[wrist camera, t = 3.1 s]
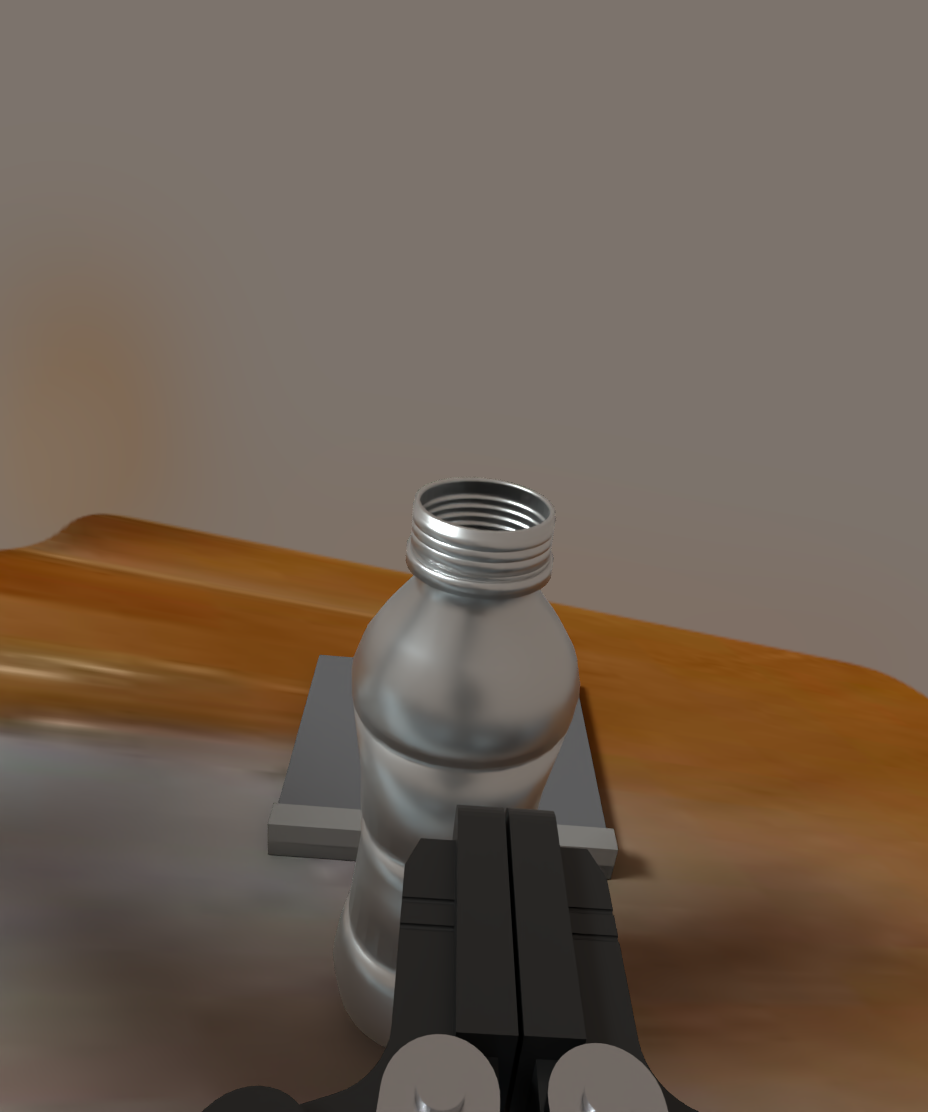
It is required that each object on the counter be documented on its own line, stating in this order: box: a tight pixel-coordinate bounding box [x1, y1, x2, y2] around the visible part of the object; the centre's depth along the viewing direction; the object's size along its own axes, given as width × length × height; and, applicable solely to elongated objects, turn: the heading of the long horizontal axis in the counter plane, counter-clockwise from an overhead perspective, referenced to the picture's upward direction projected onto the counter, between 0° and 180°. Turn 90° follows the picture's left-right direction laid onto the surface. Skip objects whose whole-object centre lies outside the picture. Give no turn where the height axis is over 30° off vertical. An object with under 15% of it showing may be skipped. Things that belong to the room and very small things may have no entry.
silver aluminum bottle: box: [333, 477, 580, 1048], centre depth 26 cm, size 6×7×20 cm
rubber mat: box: [268, 655, 618, 879], centre depth 41 cm, size 15×14×2 cm
